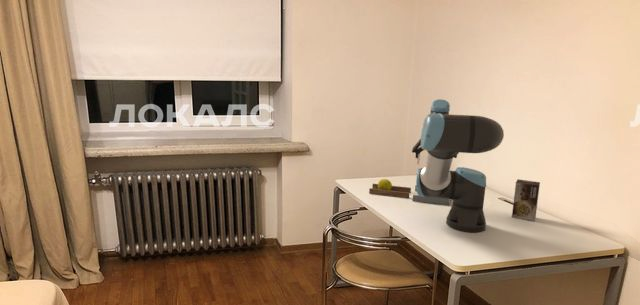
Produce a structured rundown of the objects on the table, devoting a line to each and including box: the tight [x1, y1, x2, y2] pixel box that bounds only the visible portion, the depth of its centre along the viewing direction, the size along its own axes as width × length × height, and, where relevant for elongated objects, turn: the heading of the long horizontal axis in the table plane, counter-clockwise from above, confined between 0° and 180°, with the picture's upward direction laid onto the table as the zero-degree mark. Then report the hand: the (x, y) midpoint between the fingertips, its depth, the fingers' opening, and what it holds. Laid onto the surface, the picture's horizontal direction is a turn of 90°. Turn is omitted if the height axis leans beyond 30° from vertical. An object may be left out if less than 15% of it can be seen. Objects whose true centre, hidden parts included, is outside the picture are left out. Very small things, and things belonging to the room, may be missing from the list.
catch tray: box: [412, 184, 451, 206], centre depth 194 cm, size 19×17×3 cm
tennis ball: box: [377, 178, 393, 190], centre depth 201 cm, size 7×7×7 cm
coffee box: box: [511, 178, 541, 222], centre depth 169 cm, size 9×6×16 cm
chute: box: [368, 183, 412, 199], centre depth 200 cm, size 11×20×2 cm, turn 73°
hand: (432, 164), depth 187 cm, fingers open, 13 cm apart
